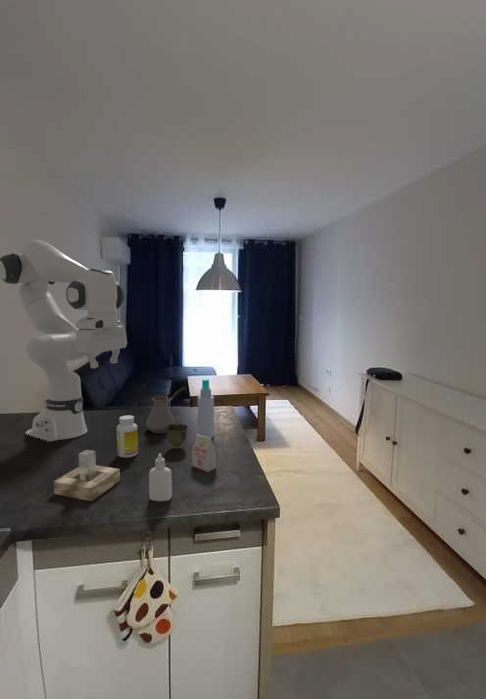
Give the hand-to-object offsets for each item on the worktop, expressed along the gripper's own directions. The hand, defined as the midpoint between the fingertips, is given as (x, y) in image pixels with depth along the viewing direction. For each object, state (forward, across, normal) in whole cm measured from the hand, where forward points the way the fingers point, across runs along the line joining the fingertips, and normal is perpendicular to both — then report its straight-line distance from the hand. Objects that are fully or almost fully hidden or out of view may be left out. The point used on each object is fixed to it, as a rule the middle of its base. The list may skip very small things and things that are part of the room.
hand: (104, 365), depth 122 cm
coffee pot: (+31, -35, +3) cm, 47 cm away
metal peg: (+31, +18, +7) cm, 36 cm away
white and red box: (+31, -4, +32) cm, 45 cm away
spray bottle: (+31, -29, +22) cm, 48 cm away
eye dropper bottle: (+31, +17, +29) cm, 46 cm away
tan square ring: (+31, +18, +7) cm, 36 cm away
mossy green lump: (+31, -15, +17) cm, 38 cm away
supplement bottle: (+31, -5, +4) cm, 32 cm away
